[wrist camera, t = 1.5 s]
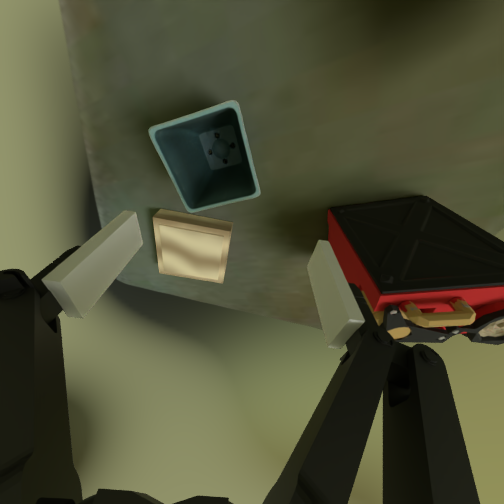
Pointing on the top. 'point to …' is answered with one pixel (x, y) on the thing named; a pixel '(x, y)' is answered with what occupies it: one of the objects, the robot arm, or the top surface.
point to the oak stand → (191, 245)
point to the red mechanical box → (422, 269)
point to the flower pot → (207, 157)
